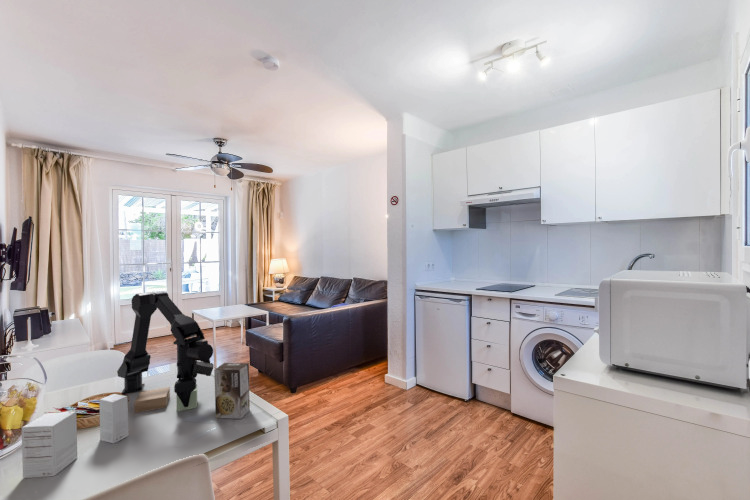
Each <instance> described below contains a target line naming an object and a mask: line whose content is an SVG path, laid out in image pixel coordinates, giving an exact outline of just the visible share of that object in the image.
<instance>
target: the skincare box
mask: <svg viewBox="0 0 750 500" xmlns="http://www.w3.org/2000/svg"><path fill="white" fill-rule="evenodd" d="M98 401H99V439H100V440H99V441H102V442H106V443H110V444H111V443H112V444H115V443H116V444H117V443H118V442H119V441H121V440H123V439H126V438H127V437H129V412H128V411H129V409H128V408H129V407H128V406H129V405H128V404H129V403H128V395H123V394H117V393H112V394H110V395H108V396H104V397H101V398H100V399H99V400H98Z"/></svg>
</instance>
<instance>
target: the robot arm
mask: <svg viewBox="0 0 750 500" xmlns="http://www.w3.org/2000/svg"><path fill="white" fill-rule="evenodd" d="M131 309H132V311H133V313H134V314H135V318H134V324H133V332H132V338H131V344H130V349H129V350H128V352H127V353H126V354H125V355H124V357H123V360H122V363H121V365H120V366H119V368H118V369H117V371H116V372H117V376H118V377H119V378H122V379H123V381H124V382H123V383H124V385H123V386H124V388H123V390H121V394H122V393H123V394H128V393H135V392H139V391H140V392H142V391H143V389H144V387H145V383H143V373H145V372H148V370H149V366H150V364H151V357H152V356H151V354H149V353H148V351H147V343H148V337H149V331H150V326H151V325H150V324H151V318H152V315H153V314H155V312H156V310H157V309H158V310H159V312H160V313H161V314H162V315H163V316H164V318H165V319H166V320H167V322H168V323H169V324H170V332H171V334H172V336H173V337H174V339H175V340H174V341H173V345H176V357H177V359H176V360H177V361H176V367H177V372H176V373H177V374H176V379H178V380H176V381H175V384H174V386H173V388H174V391H173V393H175V394H176V396H177V395H178V397H179V398H180V400H181V402H182V404H183V405H184V407H188V405H189V400H190V395H191V392H192V391H193V390H195V389H196V384H197V376H198V375H204V376H207V377H210V376H211V375H212V373H213V371H214V369H215V368H214V367H215V365H214V363H213V362H211V358H212V356H213V354H214V348H213V346H212V345H211V344H209V343H208V341H209V340H206V338H205V336H204V335H205V334H204V333H203V331H202V330H201V327H200V325H199V323H198V321H196V320H195V319H193V318H192V317H191V316H188V315H185V314H184V313H183V312H182V311H181V310H180V308H179V307H178V306H177V305H176V304H175V303H174V302H173V300H172V299H171V298H170V295H169V293H168V292H167V291H166V292H165V291H159V292H157V291H156V292H154V291H151V292H143V293H136V294H134V295H133V296H132V298H131Z"/></svg>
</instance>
